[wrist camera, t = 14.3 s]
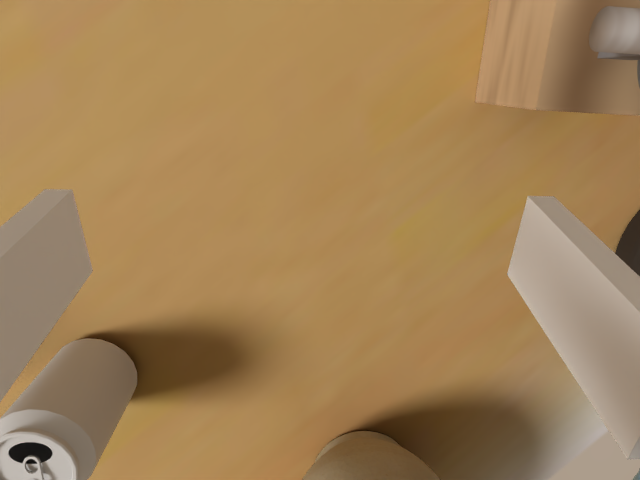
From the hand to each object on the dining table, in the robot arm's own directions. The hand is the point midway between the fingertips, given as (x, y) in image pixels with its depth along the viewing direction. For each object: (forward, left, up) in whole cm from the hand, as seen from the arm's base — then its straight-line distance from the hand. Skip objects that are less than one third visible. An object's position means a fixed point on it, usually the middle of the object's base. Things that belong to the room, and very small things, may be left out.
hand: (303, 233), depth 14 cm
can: (+17, +22, -25) cm, 37 cm away
